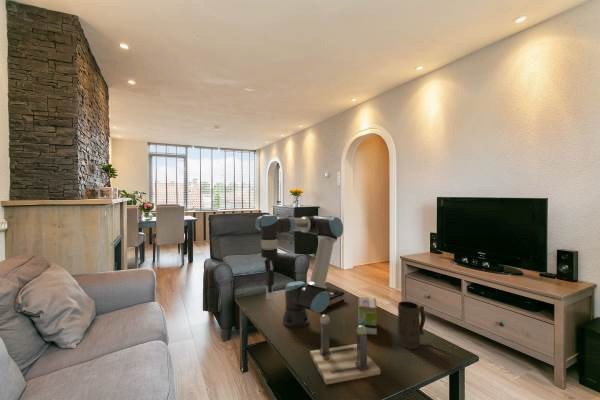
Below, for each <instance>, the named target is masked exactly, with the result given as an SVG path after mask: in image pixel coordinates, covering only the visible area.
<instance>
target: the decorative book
mask: <svg viewBox="0 0 600 400" xmlns="http://www.w3.org/2000/svg"><path fill="white" fill-rule="evenodd" d="M326 287H327V292H328V293H329V303H328V305H327V307H326V309H324V311H325V310H327V309H329V308H332V307H335V306H336V305H339V304H342V303H344V302H345V299H344V295H345V292H344V291H341V290H337V289H335V288H331V287H328V286H326Z"/></svg>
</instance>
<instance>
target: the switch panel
mask: <svg viewBox="0 0 600 400" xmlns="http://www.w3.org/2000/svg"><path fill="white" fill-rule="evenodd" d="M329 351H330V352H331V355H325V356H322V355H321V353H320V351H319V349H315V350H310V351H309V356H310V358H311V360H312V361H313V364H314V365H315V366H316V369H317V371H318V372H319V374H320V376H321V378H322V380H323V382H324V384H325V385H331V384H336V383H342V382H346V381H351V380H356V379H357V380H358V379H362V378H368V377H373V376H378V375H381V369H380V367H379V366H378V365H377V364H376V363H375V362H374V361H373V359H372V358H371V357H370V356H369V355H368V354H367V365H368V369H364V370H359V369H358V367H357V366H356V365H355V362H357V343H355V344H347V345H342V346H341V345H340V346H335V347H334V346H333V347H329Z"/></svg>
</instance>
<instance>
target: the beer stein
mask: <svg viewBox="0 0 600 400" xmlns="http://www.w3.org/2000/svg"><path fill="white" fill-rule="evenodd" d="M397 313H398V314H397V330H396V331H397V340H396V342H397V344H398V345H399V346H401V347H402V348H406V349H410V350H415V349H418V348H420V347H421V342H420V339H421V336H424V334H425V333H424V325H425V324H426V313H425V306H424V305H418V303H415V302H413V301H412V302H411V301H400V302H398V304H397Z"/></svg>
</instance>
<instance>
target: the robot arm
mask: <svg viewBox="0 0 600 400" xmlns="http://www.w3.org/2000/svg"><path fill="white" fill-rule="evenodd" d="M254 226H255V229H257V230H258V231H260V234H261V235H260V237H261V238H260V239H261V240H260V241H259V244H260V245H261V246H260V247H261V249H260V255H261V257H262V258H264V259H265V260H264V267H265V268H264V271H265V282H266V283H265V289H266V291H265V292H266V300H273V297H274V291H273V290H274V289H273V288H274V283H275V281H274V280H275V275H274V274H275V260H274V258H276V257H278V246H279V245H278V241H279V240H278V235H280V234H289V233H292V232H301V233H303V234H304V233H305V234H306V233H308V234H311V235H317V239H318V245H317V249H316V252H315V257H314V263H313V266H312V267H313V268H312V271H311V277H310V281H308V282H307V283H306V282H305V281H302V280H300V281H299V280H297V281H291V282H288V283H286V285H285V290H284V291H285V292H284V293H285V294H284V295H285V298H284V299H285V309H284V313H283V317H282V324H283V325H284V326H286V327H289V328H296V329H297V328H301V327H305V326H307V325H308V323H309V316H308V313H307V310H309V311H311V312H315V313H322V312H323V311H325V310H327V309H326V307H327V305H328V303H329V293H328V292H327V287H328V286H326V281H327V277H328V273H329V267H330V262H331V258H332V253H333V248H334V244H335V243H337V241H338V238H340V237H342V235H343V232H344V225H343V222H342V220H341V219H340V218H339V217H338V216H332V215H331V216H330V215H329V216H328V215H327V216H325V215H312V216H302V217H290V216H289V217H283V216H282V217H281V216H278V215H276V214H263V215H262V216H258V217H257V218H256V219H255V224H254ZM324 309H325V310H324Z"/></svg>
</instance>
